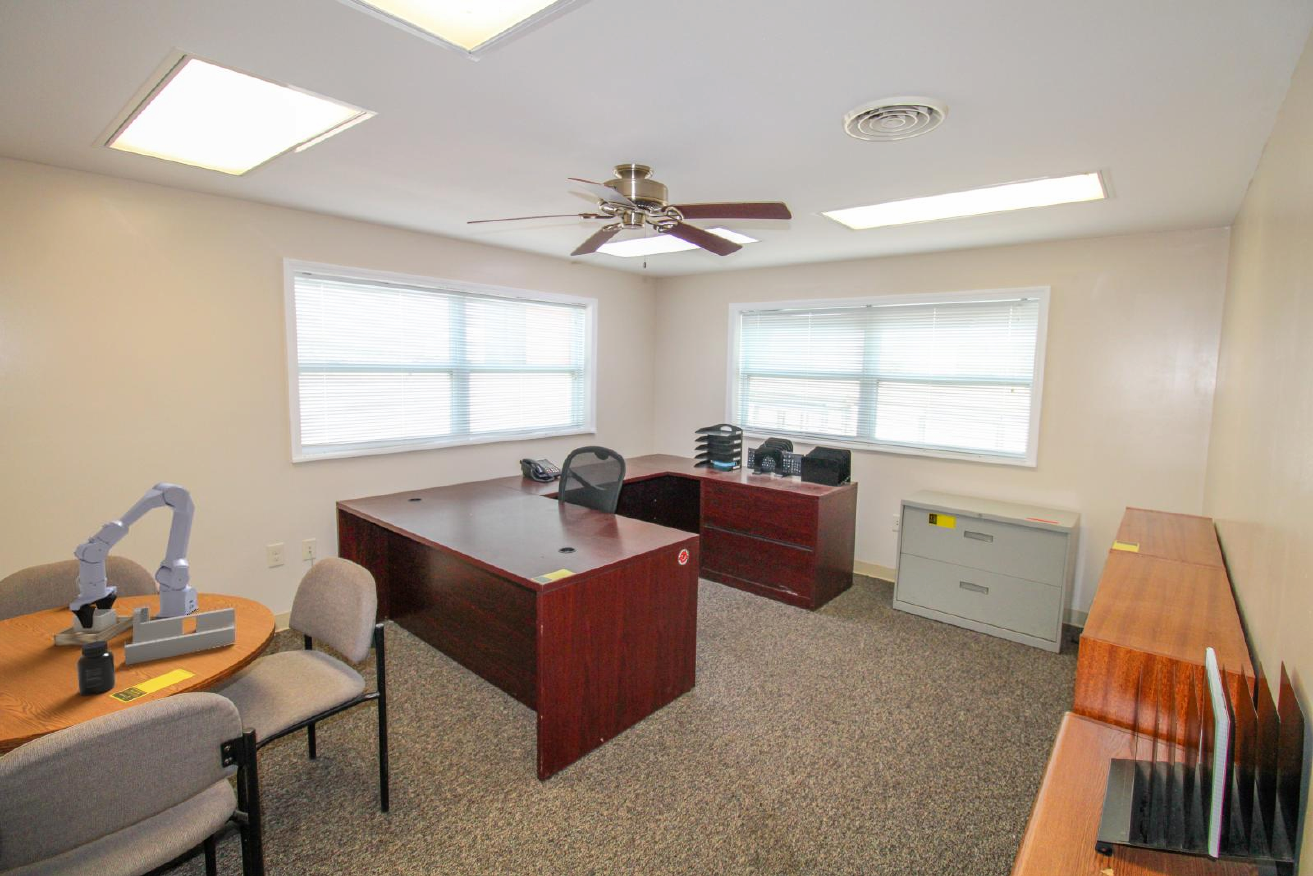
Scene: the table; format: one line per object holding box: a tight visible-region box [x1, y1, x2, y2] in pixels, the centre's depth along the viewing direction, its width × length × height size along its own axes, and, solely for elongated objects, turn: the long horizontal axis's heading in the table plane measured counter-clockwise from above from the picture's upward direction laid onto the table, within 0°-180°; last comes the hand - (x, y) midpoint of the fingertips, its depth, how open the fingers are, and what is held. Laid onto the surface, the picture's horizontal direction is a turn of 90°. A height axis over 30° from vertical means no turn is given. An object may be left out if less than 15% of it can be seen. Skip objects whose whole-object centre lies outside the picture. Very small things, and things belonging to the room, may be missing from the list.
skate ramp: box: [124, 602, 236, 666], centre depth 182 cm, size 25×23×10 cm
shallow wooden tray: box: [53, 615, 133, 646], centre depth 182 cm, size 12×14×3 cm
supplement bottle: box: [76, 641, 116, 696], centre depth 152 cm, size 7×7×12 cm
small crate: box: [72, 608, 117, 633], centre depth 182 cm, size 8×5×5 cm
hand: (95, 623), depth 182 cm, fingers closed on small crate, 5 cm apart
